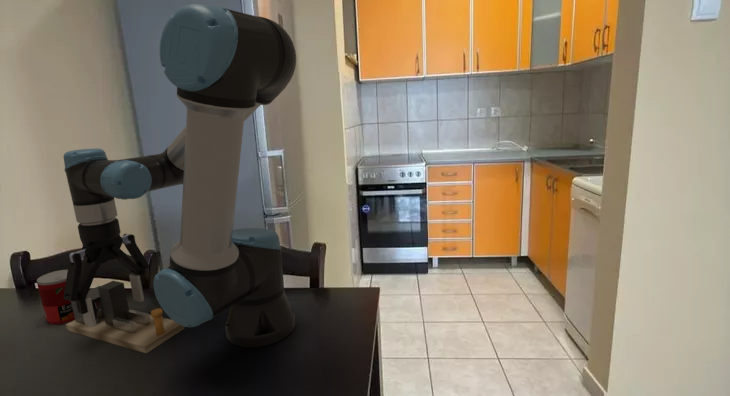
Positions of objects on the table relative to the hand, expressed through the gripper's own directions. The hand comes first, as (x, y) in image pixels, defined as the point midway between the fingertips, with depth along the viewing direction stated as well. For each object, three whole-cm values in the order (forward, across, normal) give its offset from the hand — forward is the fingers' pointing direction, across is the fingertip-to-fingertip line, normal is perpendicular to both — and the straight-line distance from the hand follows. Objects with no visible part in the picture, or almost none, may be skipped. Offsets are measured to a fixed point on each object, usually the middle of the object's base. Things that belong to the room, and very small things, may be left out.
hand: (116, 311), depth 93 cm
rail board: (+4, 0, +3) cm, 5 cm away
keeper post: (+3, 0, +13) cm, 14 cm away
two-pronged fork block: (+2, 0, -2) cm, 3 cm away
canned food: (+4, +1, -18) cm, 19 cm away
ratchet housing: (+3, 0, -7) cm, 7 cm away
